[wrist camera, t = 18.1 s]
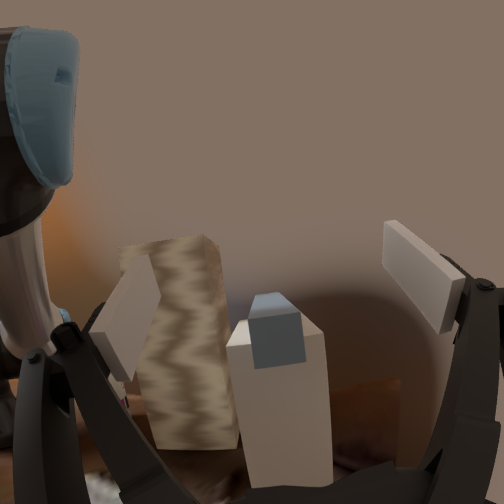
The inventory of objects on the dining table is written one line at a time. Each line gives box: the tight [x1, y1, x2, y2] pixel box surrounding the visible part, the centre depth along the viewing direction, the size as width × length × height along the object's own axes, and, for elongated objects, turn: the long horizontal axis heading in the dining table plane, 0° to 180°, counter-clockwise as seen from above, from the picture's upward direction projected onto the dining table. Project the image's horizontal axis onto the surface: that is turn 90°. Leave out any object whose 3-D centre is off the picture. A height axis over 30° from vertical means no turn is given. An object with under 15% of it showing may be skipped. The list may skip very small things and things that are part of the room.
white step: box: [226, 313, 333, 488], centre depth 30 cm, size 8×15×18 cm, turn 178°
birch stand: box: [119, 235, 240, 450], centre depth 43 cm, size 12×14×30 cm
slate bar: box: [248, 292, 306, 369], centre depth 28 cm, size 3×23×3 cm, turn 178°
